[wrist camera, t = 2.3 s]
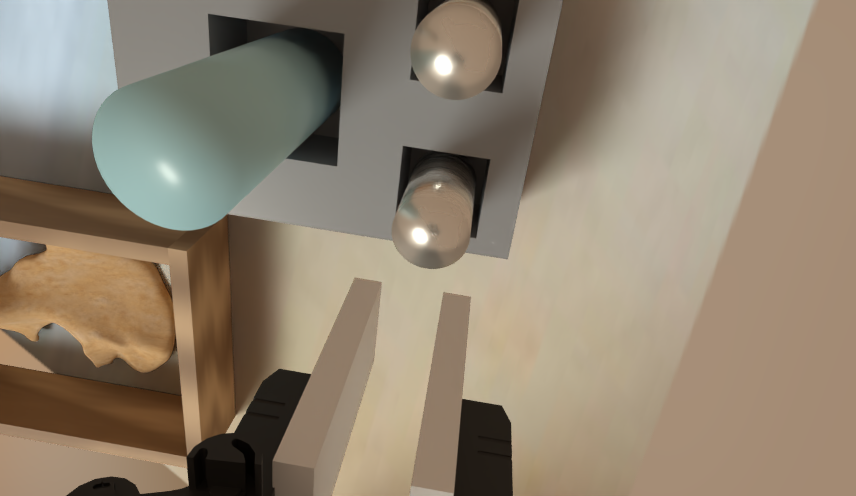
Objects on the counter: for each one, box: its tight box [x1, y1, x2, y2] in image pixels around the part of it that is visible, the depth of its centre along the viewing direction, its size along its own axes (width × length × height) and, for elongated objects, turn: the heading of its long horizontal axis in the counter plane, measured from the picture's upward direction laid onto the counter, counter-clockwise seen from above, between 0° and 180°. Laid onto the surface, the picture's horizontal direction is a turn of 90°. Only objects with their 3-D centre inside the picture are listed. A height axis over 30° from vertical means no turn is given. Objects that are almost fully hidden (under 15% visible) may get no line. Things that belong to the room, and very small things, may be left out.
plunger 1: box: [410, 0, 502, 100], centre depth 22 cm, size 3×3×6 cm
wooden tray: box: [0, 176, 235, 468], centre depth 36 cm, size 16×20×5 cm
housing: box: [107, 0, 563, 259], centre depth 27 cm, size 12×18×6 cm, turn 83°
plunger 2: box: [392, 151, 476, 269], centre depth 25 cm, size 3×3×6 cm
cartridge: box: [92, 28, 343, 231], centre depth 22 cm, size 4×4×13 cm
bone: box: [0, 245, 176, 373], centre depth 37 cm, size 10×10×15 cm
